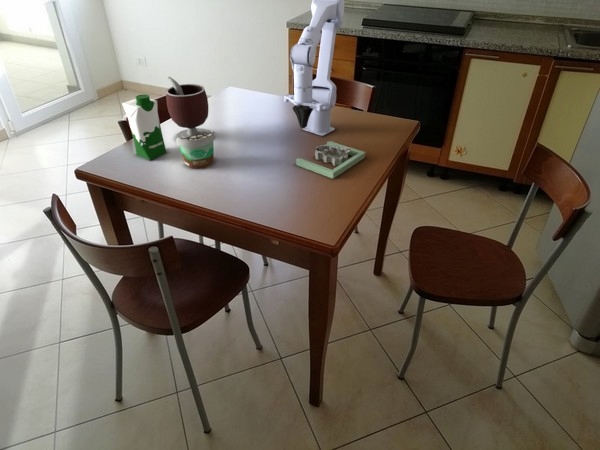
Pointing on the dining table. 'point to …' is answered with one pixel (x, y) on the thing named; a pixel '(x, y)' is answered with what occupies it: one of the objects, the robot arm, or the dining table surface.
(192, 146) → the food container
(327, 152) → the egg carton
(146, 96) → the milk carton
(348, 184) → the dining table surface
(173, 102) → the mate gourd
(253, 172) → the dining table surface
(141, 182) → the dining table surface
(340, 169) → the frame
